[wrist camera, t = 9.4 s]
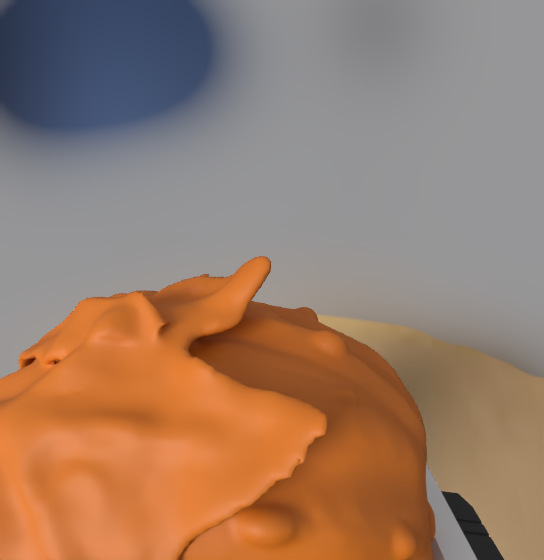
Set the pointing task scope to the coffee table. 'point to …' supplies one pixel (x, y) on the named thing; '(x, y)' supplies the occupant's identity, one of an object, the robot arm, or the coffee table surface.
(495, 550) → the robot arm
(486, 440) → the coffee table surface
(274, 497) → the orange figurine
